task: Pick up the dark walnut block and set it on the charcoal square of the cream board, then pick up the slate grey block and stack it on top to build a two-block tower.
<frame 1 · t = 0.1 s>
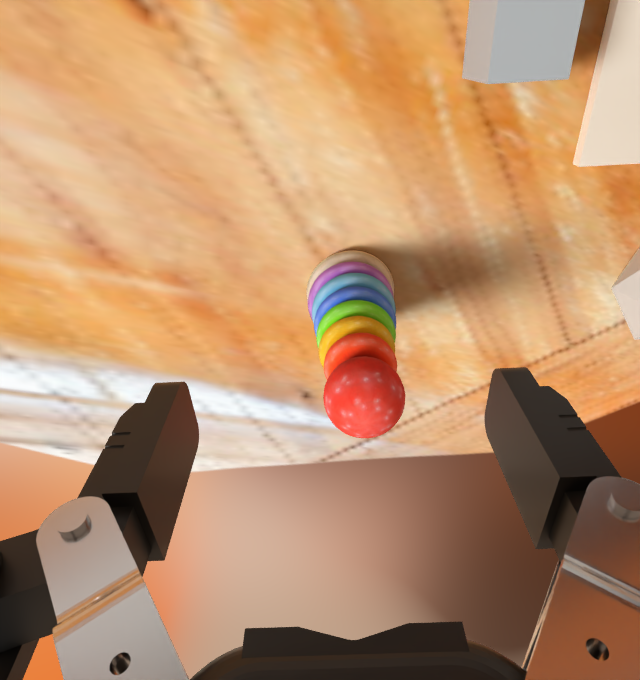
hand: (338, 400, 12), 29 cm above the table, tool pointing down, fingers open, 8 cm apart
slate block: (501, 34, 32), on the table
stacking toy: (349, 286, 43), on the table
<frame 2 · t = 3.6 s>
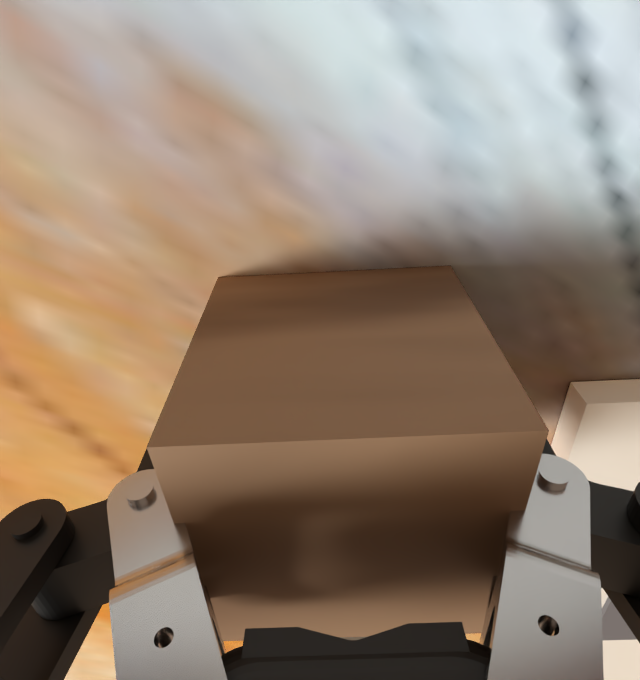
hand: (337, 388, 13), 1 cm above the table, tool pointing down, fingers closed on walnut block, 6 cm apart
walnut block: (337, 365, 14), on the table, touching gripper
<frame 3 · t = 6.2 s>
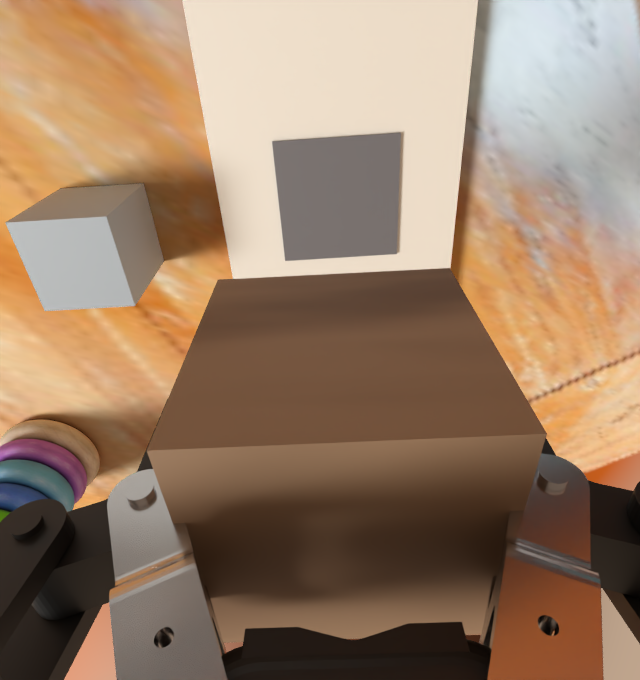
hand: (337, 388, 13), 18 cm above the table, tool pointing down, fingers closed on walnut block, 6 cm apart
slate block: (114, 226, 29), on the table
cream board: (337, 195, 28), on the table
walnut block: (336, 367, 14), point 17 cm above the table, touching gripper
stacking toy: (56, 447, 40), on the table
when the fingers open (3 cm above the table, at t = 9.1 s): walnut block drops 1 cm, resting on cream board.
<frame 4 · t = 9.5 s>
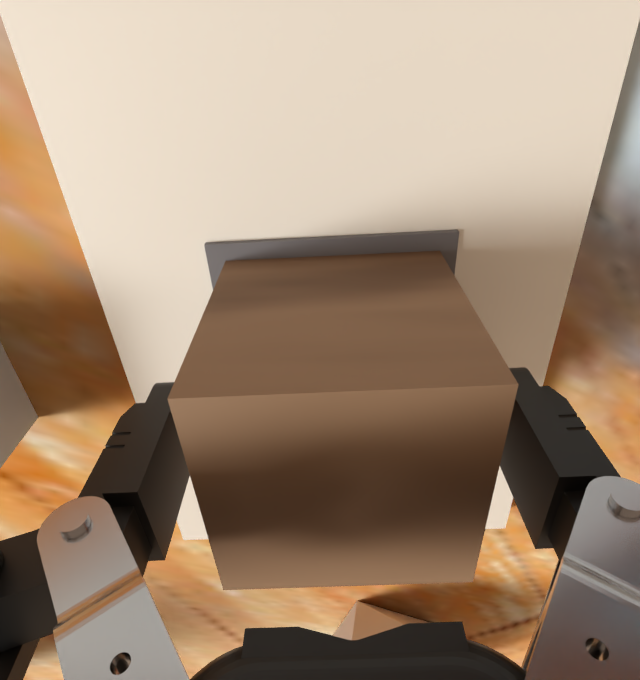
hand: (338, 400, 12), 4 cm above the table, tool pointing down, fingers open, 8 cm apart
die: (381, 620, 27), on the table
cream board: (334, 325, 16), on the table
walnut block: (335, 345, 15), point 1 cm above the table, touching cream board
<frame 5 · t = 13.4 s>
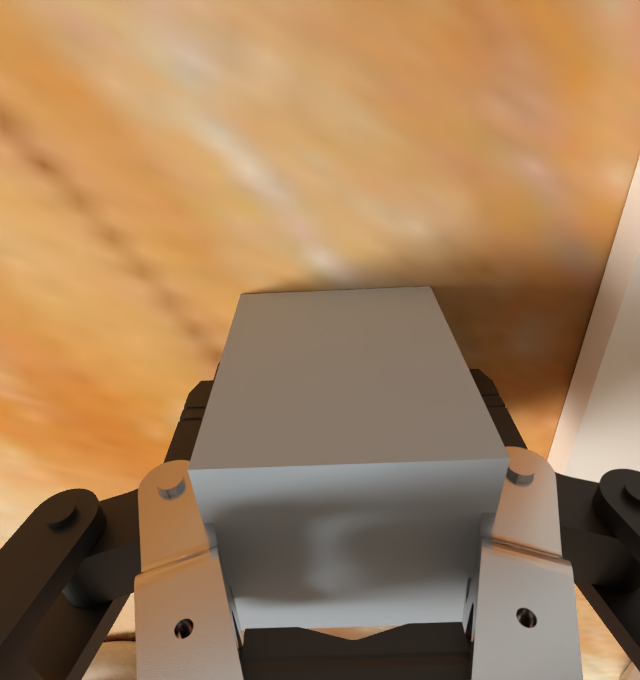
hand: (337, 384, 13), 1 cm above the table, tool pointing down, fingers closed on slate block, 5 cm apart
slate block: (337, 366, 14), on the table, touching gripper
stacking toy: (139, 666, 24), on the table
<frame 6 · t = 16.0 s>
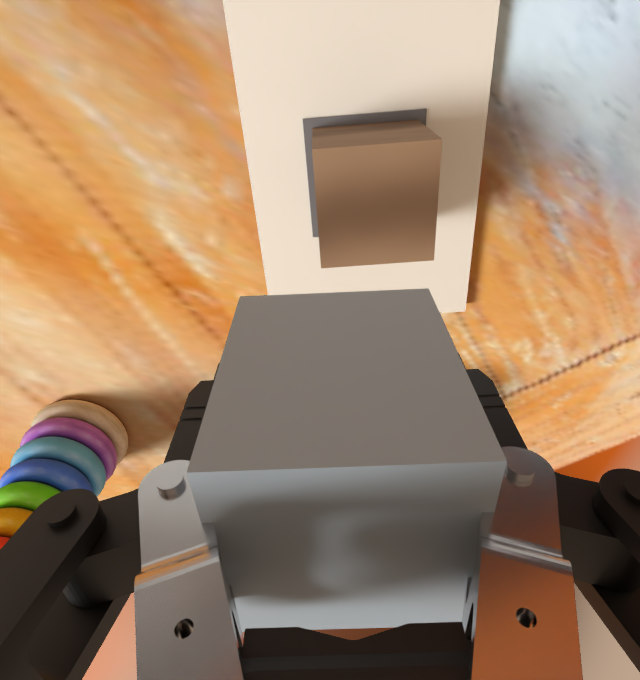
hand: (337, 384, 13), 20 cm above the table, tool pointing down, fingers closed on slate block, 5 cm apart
slate block: (336, 368, 14), point 19 cm above the table, touching gripper
cream board: (363, 172, 29), on the table
walnut block: (365, 177, 28), point 1 cm above the table, touching cream board
stacking toy: (86, 428, 41), on the table
when the fingers open (9 cm above the table, at t = 18.6 s): slate block drops 1 cm, resting on walnut block.
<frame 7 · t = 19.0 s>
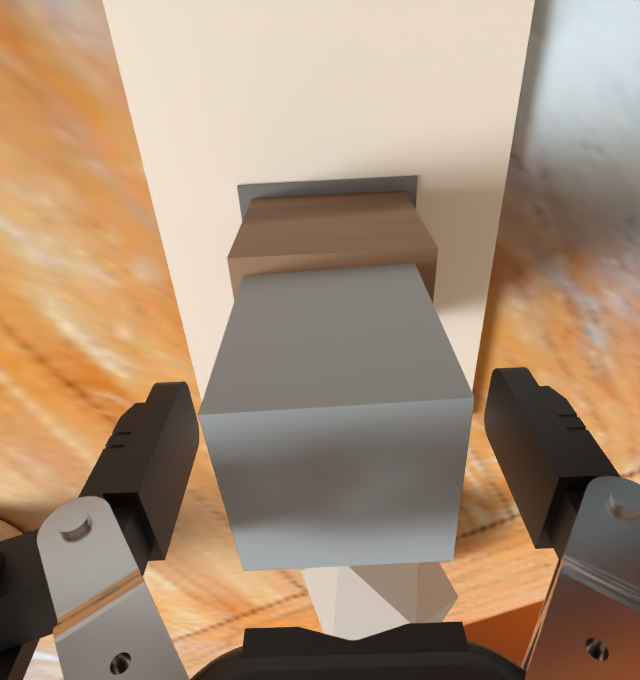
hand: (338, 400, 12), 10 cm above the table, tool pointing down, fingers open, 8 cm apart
slate block: (333, 341, 15), point 7 cm above the table, touching walnut block
die: (370, 525, 32), on the table
cream board: (329, 254, 21), on the table
walnut block: (330, 265, 20), point 1 cm above the table, touching cream board, slate block
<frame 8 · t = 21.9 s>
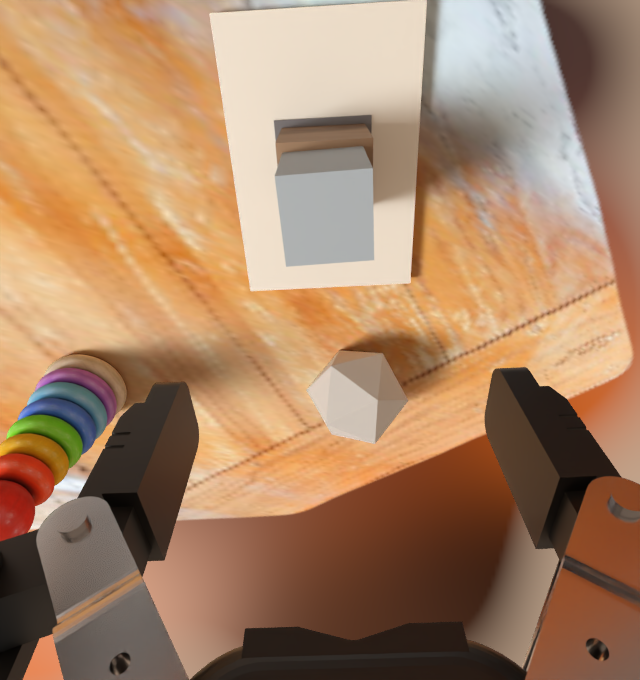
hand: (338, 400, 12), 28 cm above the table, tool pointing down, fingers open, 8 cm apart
slate block: (325, 190, 30), point 7 cm above the table, touching walnut block
die: (353, 369, 47), on the table
cream board: (324, 165, 36), on the table
walnut block: (324, 169, 35), point 1 cm above the table, touching cream board, slate block
stacking toy: (90, 381, 48), on the table
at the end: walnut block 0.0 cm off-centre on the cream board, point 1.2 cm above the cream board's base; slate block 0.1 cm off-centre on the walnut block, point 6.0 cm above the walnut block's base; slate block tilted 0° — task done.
